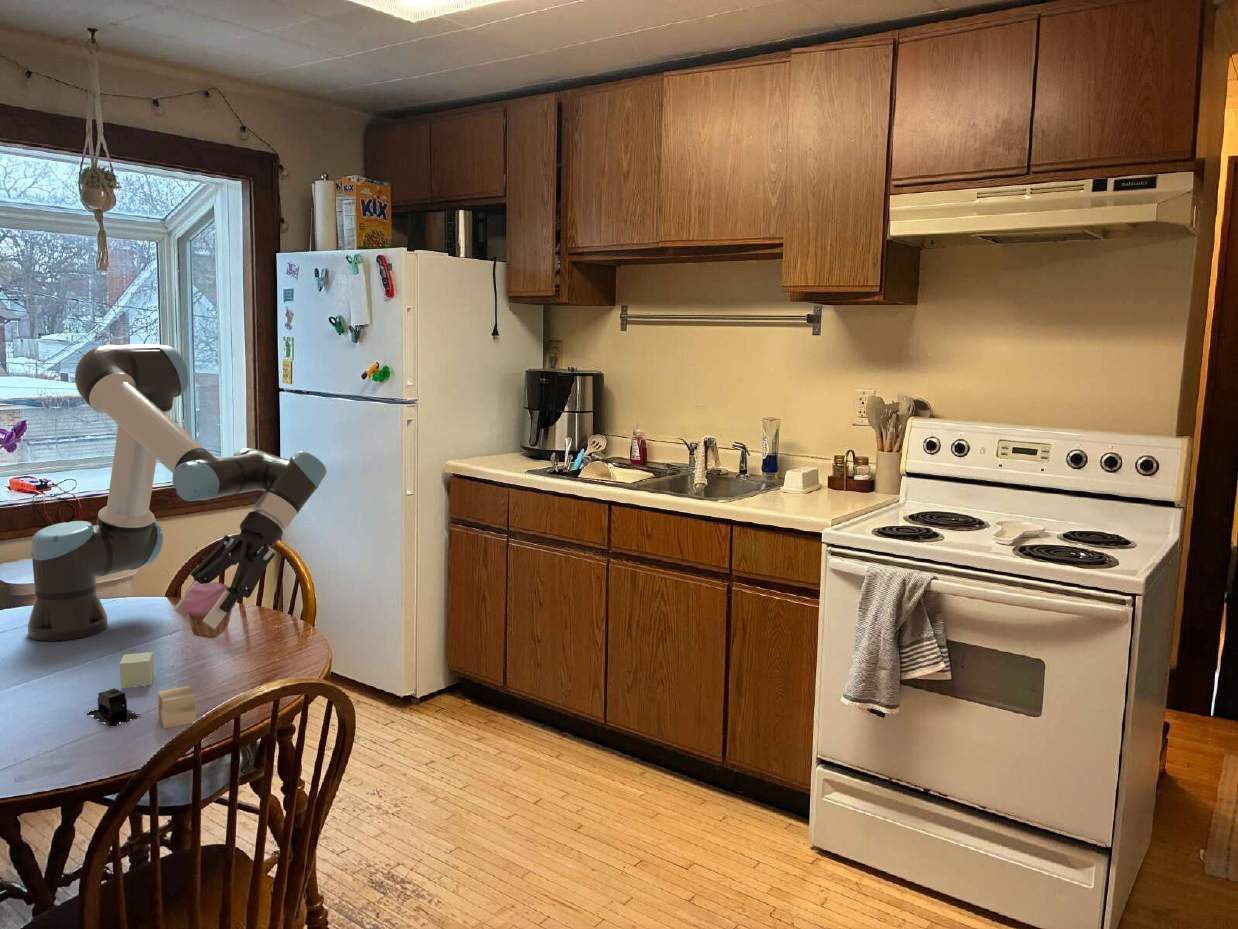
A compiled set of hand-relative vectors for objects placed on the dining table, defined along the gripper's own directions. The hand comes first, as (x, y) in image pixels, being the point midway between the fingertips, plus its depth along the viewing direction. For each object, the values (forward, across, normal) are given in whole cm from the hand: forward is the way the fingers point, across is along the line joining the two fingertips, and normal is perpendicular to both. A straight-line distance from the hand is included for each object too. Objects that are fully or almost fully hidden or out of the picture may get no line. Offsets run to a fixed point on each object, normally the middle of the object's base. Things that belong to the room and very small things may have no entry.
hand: (193, 619), depth 171 cm
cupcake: (+1, 0, -5) cm, 5 cm away
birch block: (+16, -8, -4) cm, 19 cm away
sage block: (+13, +13, -8) cm, 20 cm away
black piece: (+21, +2, -1) cm, 21 cm away
